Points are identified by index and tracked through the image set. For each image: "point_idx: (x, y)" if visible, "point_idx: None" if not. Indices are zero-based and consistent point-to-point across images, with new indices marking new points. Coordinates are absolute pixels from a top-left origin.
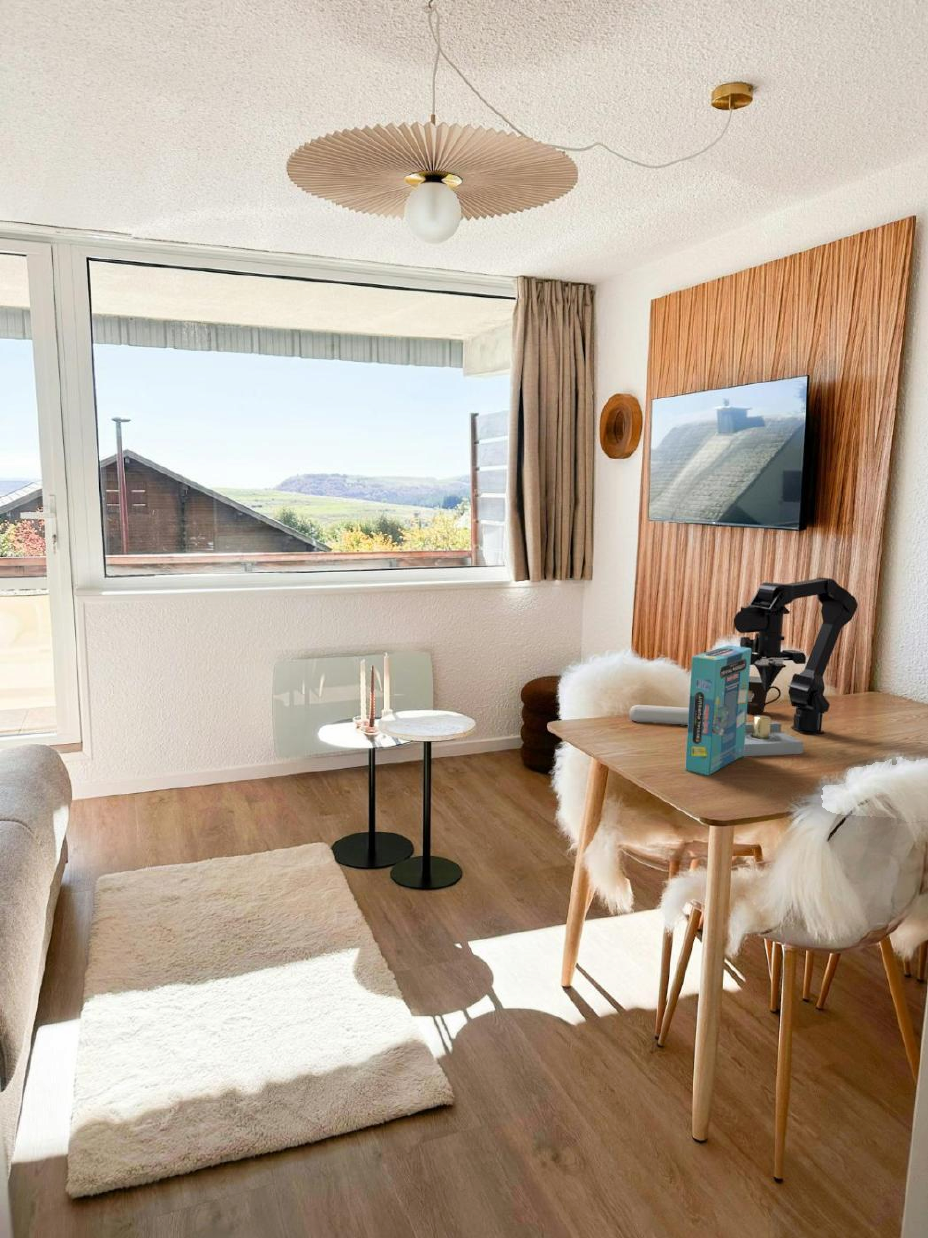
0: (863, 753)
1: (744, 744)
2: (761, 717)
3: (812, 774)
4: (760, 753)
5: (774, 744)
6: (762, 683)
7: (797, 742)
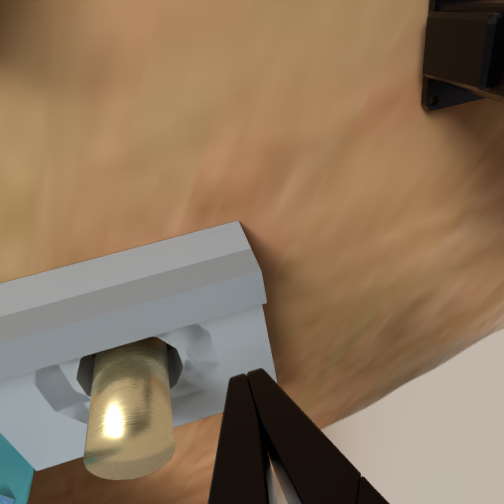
0: (458, 317)
1: (35, 469)
2: (123, 458)
3: None
4: None
5: None
6: (221, 435)
7: None
